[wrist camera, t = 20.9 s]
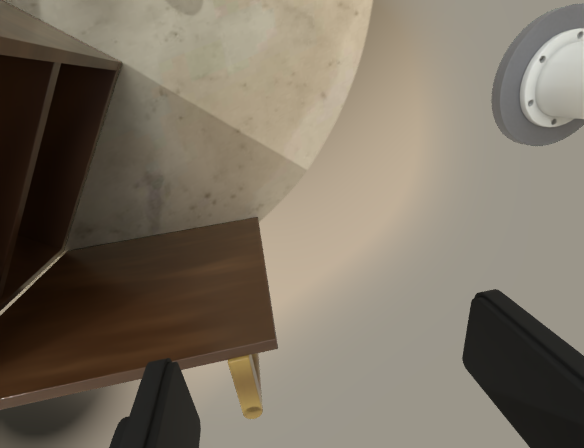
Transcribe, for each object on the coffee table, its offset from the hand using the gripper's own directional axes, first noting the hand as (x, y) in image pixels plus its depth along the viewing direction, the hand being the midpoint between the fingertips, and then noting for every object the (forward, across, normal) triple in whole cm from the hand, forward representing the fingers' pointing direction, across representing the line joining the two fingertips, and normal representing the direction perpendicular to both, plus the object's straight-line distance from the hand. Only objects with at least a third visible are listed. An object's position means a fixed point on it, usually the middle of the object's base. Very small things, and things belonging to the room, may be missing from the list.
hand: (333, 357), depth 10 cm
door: (+34, +15, +13) cm, 39 cm away
